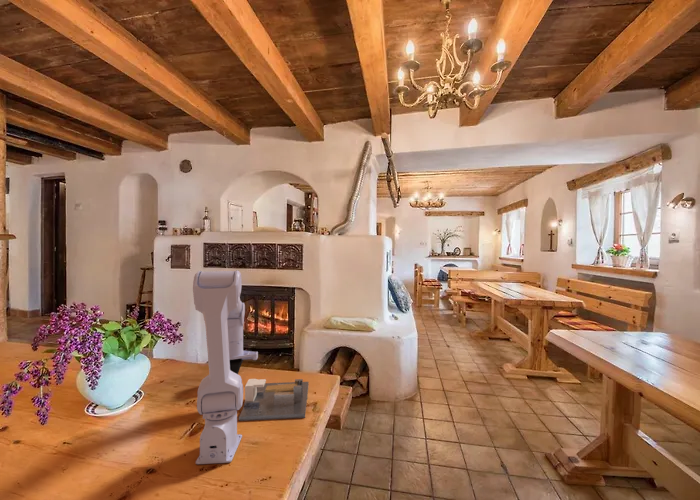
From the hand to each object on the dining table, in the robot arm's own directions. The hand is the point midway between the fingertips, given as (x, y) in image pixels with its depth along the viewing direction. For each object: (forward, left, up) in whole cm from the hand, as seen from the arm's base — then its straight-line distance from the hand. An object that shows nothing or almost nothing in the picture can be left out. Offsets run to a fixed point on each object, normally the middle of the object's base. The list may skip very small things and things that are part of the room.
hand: (233, 382), depth 92 cm
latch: (0, -7, -5) cm, 9 cm away
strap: (0, -15, -3) cm, 16 cm away
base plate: (+1, -13, -7) cm, 15 cm away
